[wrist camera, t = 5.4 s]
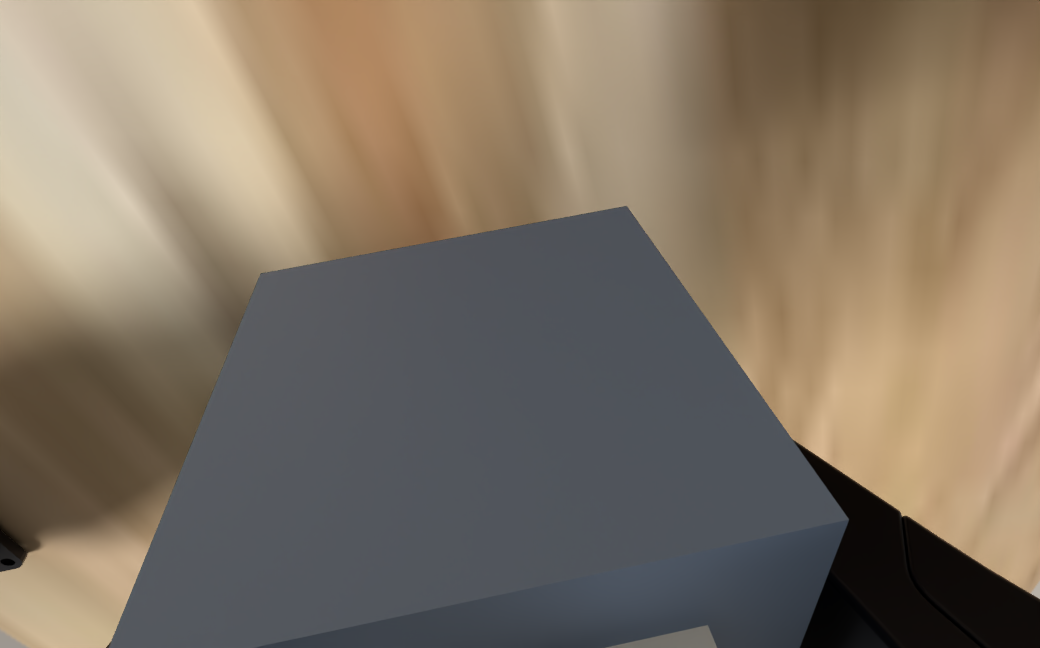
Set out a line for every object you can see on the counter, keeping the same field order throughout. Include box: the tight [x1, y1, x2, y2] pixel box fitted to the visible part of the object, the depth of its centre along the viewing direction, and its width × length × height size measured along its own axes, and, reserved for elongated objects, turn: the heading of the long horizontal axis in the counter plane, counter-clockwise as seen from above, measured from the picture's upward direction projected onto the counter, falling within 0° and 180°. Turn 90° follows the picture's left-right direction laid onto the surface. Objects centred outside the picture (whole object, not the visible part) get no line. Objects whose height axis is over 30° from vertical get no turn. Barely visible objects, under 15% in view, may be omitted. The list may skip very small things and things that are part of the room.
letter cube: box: [109, 206, 849, 648], centre depth 7 cm, size 5×5×5 cm
